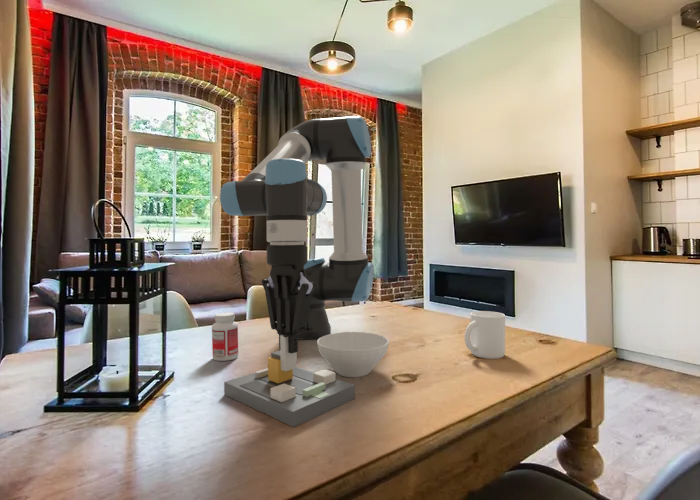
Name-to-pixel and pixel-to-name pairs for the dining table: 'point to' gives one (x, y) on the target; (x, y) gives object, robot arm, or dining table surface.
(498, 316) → the mug
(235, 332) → the pill bottle
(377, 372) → the dining table surface
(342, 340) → the bowl
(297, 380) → the panel
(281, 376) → the breaker handle
